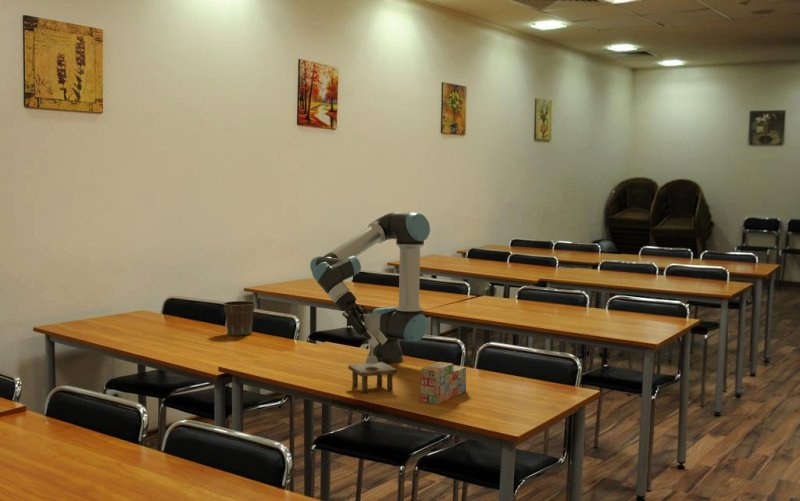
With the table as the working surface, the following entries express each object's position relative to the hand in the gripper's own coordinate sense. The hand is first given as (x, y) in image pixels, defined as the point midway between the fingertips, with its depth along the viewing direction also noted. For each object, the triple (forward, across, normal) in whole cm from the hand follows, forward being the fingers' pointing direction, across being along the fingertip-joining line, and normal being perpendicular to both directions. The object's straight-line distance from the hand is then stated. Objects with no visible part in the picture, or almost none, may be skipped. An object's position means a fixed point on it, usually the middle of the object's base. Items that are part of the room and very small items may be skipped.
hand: (380, 343), depth 297 cm
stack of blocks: (+30, -2, +5) cm, 31 cm away
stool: (+10, 0, -15) cm, 18 cm away
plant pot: (-69, -67, -94) cm, 135 cm away
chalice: (+3, 0, -8) cm, 8 cm away
